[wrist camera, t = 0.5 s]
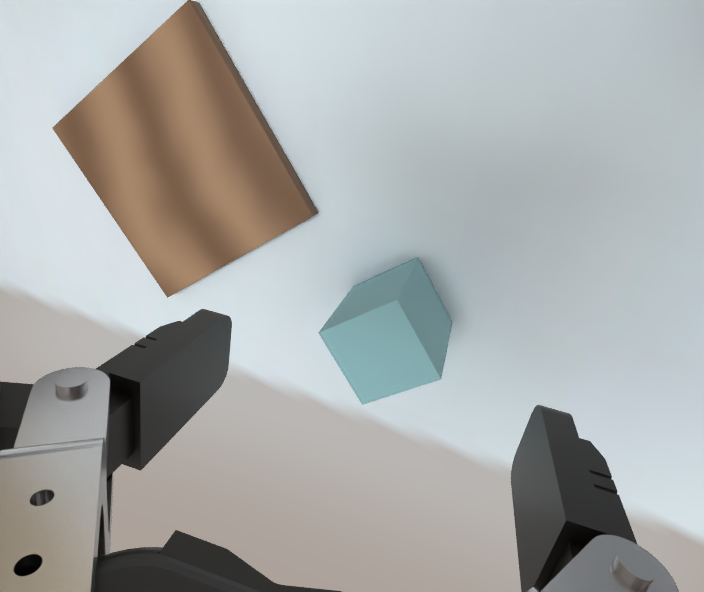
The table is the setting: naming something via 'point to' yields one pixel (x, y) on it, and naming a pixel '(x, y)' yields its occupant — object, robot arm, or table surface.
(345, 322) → the teal block
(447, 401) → the table surface
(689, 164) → the table surface
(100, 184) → the walnut board
